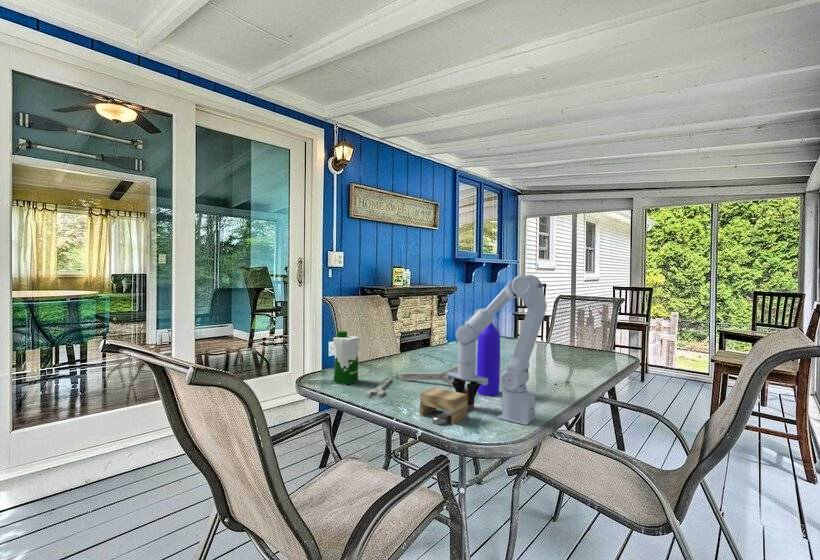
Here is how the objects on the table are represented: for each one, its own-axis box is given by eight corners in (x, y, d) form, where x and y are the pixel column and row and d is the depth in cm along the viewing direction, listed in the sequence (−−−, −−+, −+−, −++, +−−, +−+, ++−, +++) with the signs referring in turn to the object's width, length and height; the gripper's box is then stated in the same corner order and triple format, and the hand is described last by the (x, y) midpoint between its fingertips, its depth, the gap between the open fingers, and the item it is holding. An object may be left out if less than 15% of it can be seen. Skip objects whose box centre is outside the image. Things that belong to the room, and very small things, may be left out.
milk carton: (343, 378, 175) (343, 330, 175) (361, 380, 171) (362, 331, 171) (330, 382, 167) (330, 332, 167) (349, 385, 163) (350, 334, 163)
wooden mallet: (474, 407, 140) (474, 389, 139) (448, 421, 126) (448, 401, 126) (466, 405, 141) (466, 387, 141) (439, 419, 127) (439, 399, 127)
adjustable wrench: (385, 381, 173) (385, 376, 173) (400, 382, 172) (400, 378, 172) (363, 397, 149) (363, 392, 149) (380, 399, 147) (380, 394, 147)
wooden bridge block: (466, 416, 130) (467, 394, 130) (453, 424, 123) (454, 400, 123) (433, 409, 137) (434, 387, 137) (419, 415, 130) (420, 393, 130)
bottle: (502, 392, 157) (504, 312, 157) (494, 397, 150) (495, 313, 150) (482, 388, 162) (483, 310, 161) (472, 393, 155) (474, 312, 154)
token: (450, 422, 125) (450, 416, 125) (442, 426, 122) (442, 421, 122) (437, 419, 128) (437, 413, 128) (429, 423, 124) (429, 417, 124)
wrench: (398, 386, 175) (468, 386, 163) (396, 387, 173) (466, 387, 162) (396, 366, 175) (466, 365, 163) (394, 367, 174) (464, 366, 162)
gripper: (492, 362, 137) (491, 404, 137) (453, 357, 145) (452, 396, 145) (482, 366, 131) (482, 410, 131) (442, 360, 139) (442, 401, 140)
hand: (466, 403), depth 138 cm, fingers closed on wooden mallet, 3 cm apart
